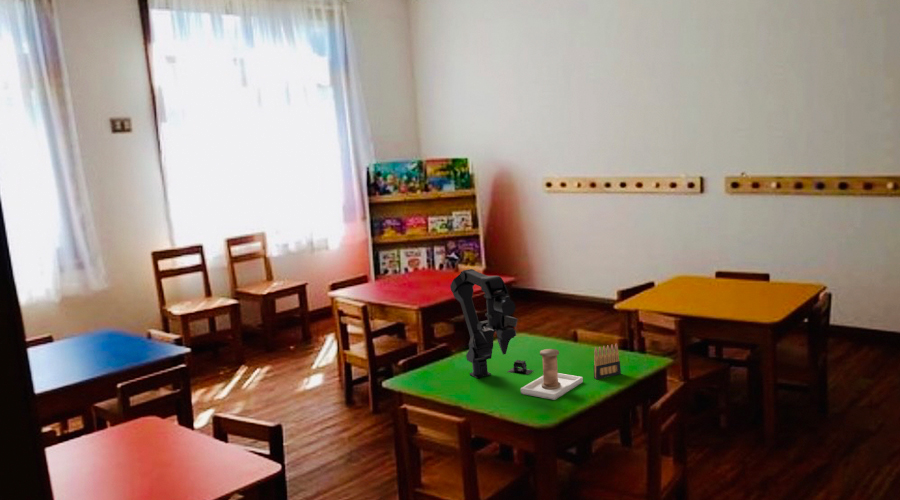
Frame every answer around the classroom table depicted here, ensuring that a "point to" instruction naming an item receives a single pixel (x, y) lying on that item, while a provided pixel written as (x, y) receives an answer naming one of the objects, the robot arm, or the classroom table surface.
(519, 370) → the black holed block
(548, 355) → the brown wooden spool
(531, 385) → the white rectangular tray
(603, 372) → the ammunition clip
